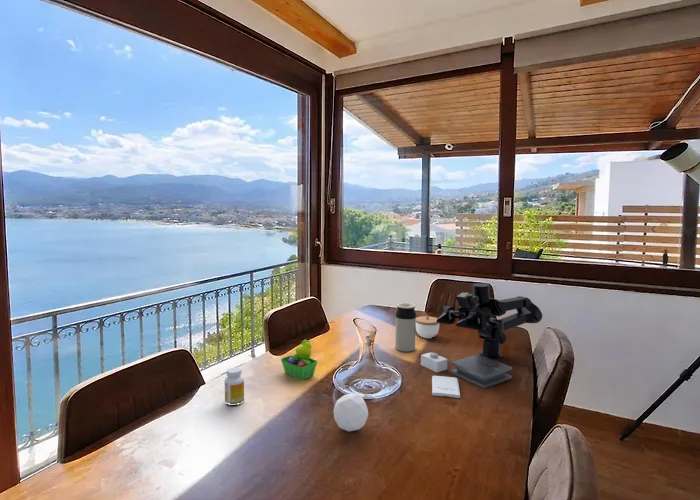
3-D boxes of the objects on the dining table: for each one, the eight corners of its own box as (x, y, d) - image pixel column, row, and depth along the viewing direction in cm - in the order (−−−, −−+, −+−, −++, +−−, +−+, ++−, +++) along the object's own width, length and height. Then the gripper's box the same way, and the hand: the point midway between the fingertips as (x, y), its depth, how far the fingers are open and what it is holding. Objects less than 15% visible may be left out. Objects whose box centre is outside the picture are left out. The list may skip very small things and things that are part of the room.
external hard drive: (457, 382, 132) (460, 399, 120) (431, 380, 134) (432, 397, 122) (457, 377, 132) (460, 394, 120) (432, 375, 134) (432, 391, 121)
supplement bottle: (248, 399, 118) (247, 367, 117) (237, 408, 113) (236, 374, 112) (232, 396, 119) (231, 365, 118) (221, 405, 114) (220, 372, 113)
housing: (430, 362, 148) (431, 349, 148) (447, 370, 141) (447, 356, 141) (420, 365, 145) (421, 352, 145) (436, 373, 139) (437, 359, 138)
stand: (477, 364, 146) (477, 354, 145) (511, 378, 134) (511, 366, 134) (450, 373, 138) (450, 361, 138) (484, 388, 126) (484, 376, 126)
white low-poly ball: (369, 434, 97) (375, 415, 108) (359, 396, 97) (366, 382, 109) (335, 441, 98) (345, 422, 110) (325, 404, 99) (336, 389, 111)
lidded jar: (442, 335, 180) (443, 314, 179) (434, 341, 171) (434, 320, 170) (420, 331, 186) (420, 311, 185) (410, 337, 177) (411, 316, 176)
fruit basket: (279, 373, 137) (279, 341, 136) (299, 366, 143) (299, 335, 142) (301, 383, 129) (301, 349, 128) (321, 375, 136) (321, 342, 135)
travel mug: (392, 350, 160) (393, 306, 158) (398, 344, 167) (399, 302, 165) (412, 353, 157) (413, 308, 155) (416, 346, 164) (418, 303, 163)
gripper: (454, 289, 155) (425, 297, 147) (495, 293, 139) (464, 302, 131) (458, 317, 156) (428, 327, 147) (498, 324, 140) (468, 336, 132)
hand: (446, 322), depth 139 cm, fingers open, 9 cm apart
